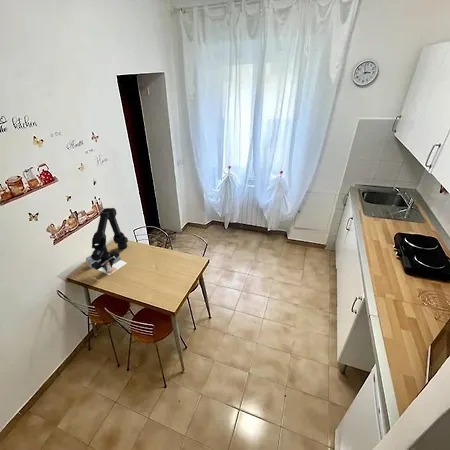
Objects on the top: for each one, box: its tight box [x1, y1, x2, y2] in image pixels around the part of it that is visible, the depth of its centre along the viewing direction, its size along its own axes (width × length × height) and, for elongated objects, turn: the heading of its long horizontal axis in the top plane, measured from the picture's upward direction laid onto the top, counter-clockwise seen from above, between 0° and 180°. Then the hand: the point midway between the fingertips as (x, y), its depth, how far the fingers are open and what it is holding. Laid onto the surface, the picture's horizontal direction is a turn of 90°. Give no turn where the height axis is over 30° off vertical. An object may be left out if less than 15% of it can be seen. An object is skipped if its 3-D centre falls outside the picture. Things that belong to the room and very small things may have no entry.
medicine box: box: [85, 255, 101, 270], centre depth 186 cm, size 8×4×9 cm, turn 143°
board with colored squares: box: [97, 256, 127, 276], centre depth 186 cm, size 18×15×3 cm
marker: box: [104, 261, 112, 273], centre depth 179 cm, size 4×4×8 cm
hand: (108, 269), depth 180 cm, fingers closed on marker, 4 cm apart
